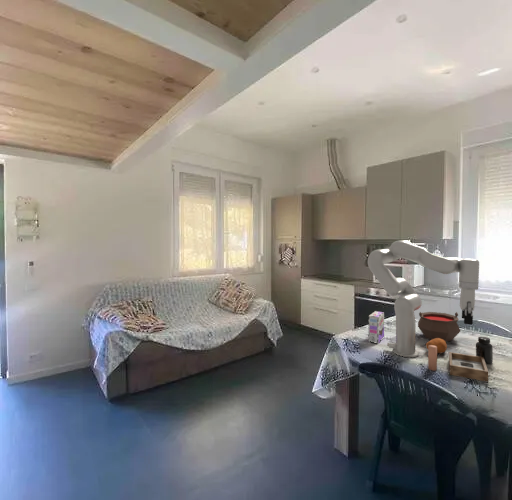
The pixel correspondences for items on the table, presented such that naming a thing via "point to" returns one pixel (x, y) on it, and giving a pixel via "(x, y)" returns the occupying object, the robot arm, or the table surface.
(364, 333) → the table surface
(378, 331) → the candy box
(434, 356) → the peg
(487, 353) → the supplement bottle
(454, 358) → the wooden rectangular frame
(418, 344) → the table surface
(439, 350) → the potato
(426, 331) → the brown cooking pot
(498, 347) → the table surface
